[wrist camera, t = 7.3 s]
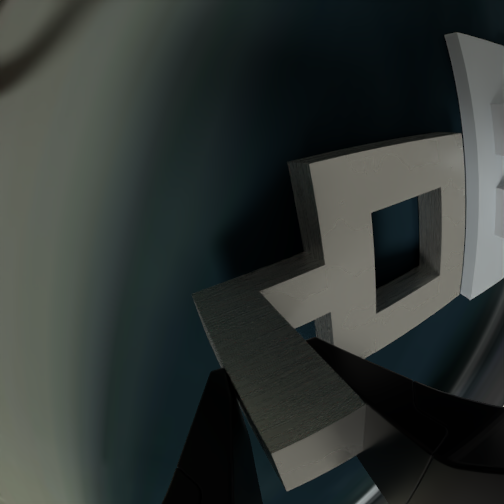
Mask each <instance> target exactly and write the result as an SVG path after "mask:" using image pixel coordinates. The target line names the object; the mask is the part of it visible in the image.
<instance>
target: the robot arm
mask: <svg viewBox="0 0 504 504" xmlns="http://www.w3.org/2000/svg"><path fill="white" fill-rule="evenodd" d="M305 341H306V342H307V343H308V344H309V345H310V346H311V347H312V348H313V349H314V350H315V351H316V352H317V353H318V354H319V355H320V356H321V357H322V359H323V360H324V361H325V362H326V363H327V364H328V365H329V366H330V367H331V368H332V369H333V370H334V371H335V372H336V373H337V374H338V375H339V376H340V377H341V378H342V379H343V380H344V381H345V382H346V383H347V384H348V385H349V386H350V388H351V389H352V390H353V391H354V392H355V393H356V394H357V395H358V396H359V397H360V398H361V399H362V401H363V402H364V403H365V404H366V411H365V426H364V438H363V449H362V452H361V453H359V454H357V455H356V456H357V457H358V459H359V460H360V462H361V463H362V465H363V466H364V468H365V469H366V471H367V472H368V474H369V475H370V477H371V478H372V480H373V481H374V483H375V484H376V486H377V487H378V489H379V490H380V491H381V493H382V494H383V496H384V497H385V499H386V500H387V502H388V503H389V504H504V407H500V406H495V405H491V404H486V403H482V402H478V401H474V400H470V399H466V398H463V397H459V396H455V395H452V394H449V393H445V392H442V391H439V390H437V389H434V388H431V387H429V386H426V385H424V384H421V383H419V382H416V381H414V382H413V380H411V379H409V378H407V377H404V376H402V375H400V374H397V373H395V372H393V371H390V370H388V369H386V368H384V367H381V366H379V365H377V364H374V363H372V362H370V361H368V360H365V359H363V358H361V357H359V356H357V355H354V354H352V353H350V352H348V351H346V350H343V349H341V348H339V347H337V346H335V345H333V344H330V343H328V342H326V341H324V340H322V339H320V338H317V337H313V338H310V339H308V340H305ZM177 467H178V468H176V469H175V472H174V475H173V478H172V481H171V483H170V486H169V488H168V491H167V493H166V496H165V498H164V500H163V502H162V504H263V502H262V497H261V493H260V488H259V483H258V478H257V473H256V468H255V463H254V457H253V452H252V447H251V442H250V438H249V434H248V431H247V428H246V425H245V422H244V419H243V416H242V412H241V409H240V406H239V403H238V400H237V397H236V395H235V392H234V390H233V387H232V385H231V382H230V380H229V377H228V375H227V372H226V370H225V368H220V369H217V370H214V371H211V373H210V375H209V378H208V380H207V383H206V386H205V389H204V392H203V394H202V397H201V400H200V403H199V406H198V408H197V411H196V414H195V417H194V420H193V422H192V425H191V428H190V431H189V434H188V436H187V439H186V442H185V445H184V448H183V450H182V453H181V456H180V459H179V462H178V464H177Z"/></svg>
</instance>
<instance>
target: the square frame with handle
mask: <svg viewBox="0 0 504 504" xmlns="http://www.w3.org/2000/svg"><path fill="white" fill-rule="evenodd" d="M287 163H288V168H289V173H290V178H291V183H292V189H293V194H294V199H295V204H296V210H297V215H298V221H299V226H300V232H301V238H302V244H303V249H304V252H303V253H300V254H298V255H295V256H292V257H290V258H287V259H285V260H282V261H279V262H277V263H274V264H271V265H269V266H266V267H263V268H261V269H258V270H255V271H253V272H250V273H247V274H245V275H242V276H239V277H237V278H234V279H231V280H229V281H226V282H223V283H220V284H218V285H215V286H212V287H210V288H207V289H204V290H201V291H199V292H196V293H193V294H192V297H193V300H194V302H195V305H196V308H197V311H198V313H199V316H200V319H201V321H202V324H203V327H204V329H205V332H206V335H207V337H208V340H209V342H210V344H211V346H212V348H213V351H214V353H215V355H216V357H217V359H218V361H219V363H220V366H221V368H225V370H226V372H227V375H228V377H229V380H230V382H231V385H232V387H233V390H234V392H235V395H236V397H237V400H238V403H239V405H240V407H241V409H242V411H243V413H244V415H245V416H246V418H247V420H248V422H249V424H250V426H251V428H252V430H253V432H254V434H255V436H256V437H257V439H258V441H259V443H260V445H261V447H262V449H263V450H264V452H265V454H266V456H267V458H268V460H269V461H270V463H271V465H272V467H273V468H274V470H275V472H276V474H277V476H278V477H279V479H280V481H281V482H282V484H283V486H284V488H285V489H286V491H289V490H291V489H293V488H295V487H298V486H300V485H302V484H304V483H306V482H308V481H310V480H312V479H314V478H316V477H318V476H320V475H322V474H324V473H326V472H327V471H329V470H331V469H333V468H335V467H337V466H338V465H340V464H342V463H344V462H345V461H347V460H349V459H351V458H352V457H354V456H356V455H357V454H359V453H361V452H362V449H363V438H364V426H365V411H366V404H365V403H364V402H363V401H362V399H361V398H360V397H359V396H358V395H357V394H356V393H355V392H354V391H353V390H352V389H351V388H350V386H349V385H348V384H347V383H346V382H345V381H344V380H343V379H342V378H341V377H340V376H339V375H338V374H337V373H336V372H335V371H334V370H333V369H332V368H331V367H330V366H329V365H328V364H327V363H326V362H325V361H324V360H323V359H322V357H321V356H320V355H319V354H318V353H317V352H316V351H315V350H314V349H313V348H312V347H311V346H310V345H309V344H308V343H307V342H306V341H305V340H304V339H303V338H302V336H301V335H300V334H299V333H298V332H297V331H296V330H295V328H297V327H299V326H302V325H304V324H306V323H308V322H310V321H312V320H315V328H316V335H317V338H320V339H322V340H324V341H326V342H328V343H330V344H333V345H335V346H337V347H339V348H341V349H343V350H346V351H348V352H350V353H352V354H354V355H357V356H359V357H361V358H363V359H365V358H366V357H368V356H370V355H371V354H373V353H375V352H376V351H378V350H380V349H381V348H383V347H385V346H386V345H388V344H389V343H391V342H393V341H394V340H396V339H397V338H399V337H400V336H402V335H403V334H405V333H406V332H408V331H409V330H411V329H412V328H414V327H415V326H417V325H418V324H420V323H421V322H423V321H424V320H425V319H427V318H428V317H430V316H431V315H433V314H434V313H435V312H437V311H438V310H439V309H441V308H442V307H444V306H445V305H446V304H448V303H449V302H450V301H452V300H453V299H454V298H455V297H457V296H458V295H459V292H460V284H461V275H462V265H463V252H464V235H465V174H464V157H463V144H462V134H461V133H450V132H433V133H427V134H420V135H414V136H408V137H402V138H397V139H391V140H385V141H380V142H375V143H370V144H365V145H360V146H355V147H350V148H345V149H340V150H336V151H331V152H327V153H322V154H318V155H314V156H309V157H305V158H301V159H297V160H293V161H289V162H287ZM415 196H418V203H419V233H420V259H419V266H418V267H416V268H414V269H413V270H411V271H409V272H407V273H405V274H404V275H402V276H400V277H398V278H396V279H394V280H393V281H391V282H389V283H387V284H385V285H383V286H381V287H379V288H378V289H376V282H375V260H374V243H373V230H372V218H371V213H372V212H374V211H377V210H380V209H383V208H385V207H388V206H391V205H393V204H396V203H399V202H402V201H404V200H407V199H410V198H412V197H415Z"/></svg>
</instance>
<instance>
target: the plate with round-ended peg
mask: <svg viewBox="0 0 504 504" xmlns="http://www.w3.org/2000/svg"><path fill="white" fill-rule="evenodd" d="M444 36H445V40H446V43H447V47H448V51H449V55H450V60H451V64H452V69H453V73H454V78H455V83H456V89H457V94H458V100H459V107H460V114H461V121H462V130H463V140H464V151H465V166H466V196H467V209H466V240H465V255H464V267H463V277H462V285H461V293H460V294H462V295H464V296H465V297H467V298H468V299H470V300H471V299H473V298H474V297H476V296H477V295H479V294H481V293H482V292H484V291H485V290H487V289H488V288H490V287H491V286H493V285H494V284H496V283H497V282H499V281H500V280H501V279H503V278H504V46H502V45H499V44H496V43H493V42H490V41H487V40H483V39H480V38H477V37H473V36H469V35H466V34H462V33H458V32H455V33H451V34H446V35H444Z"/></svg>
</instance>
